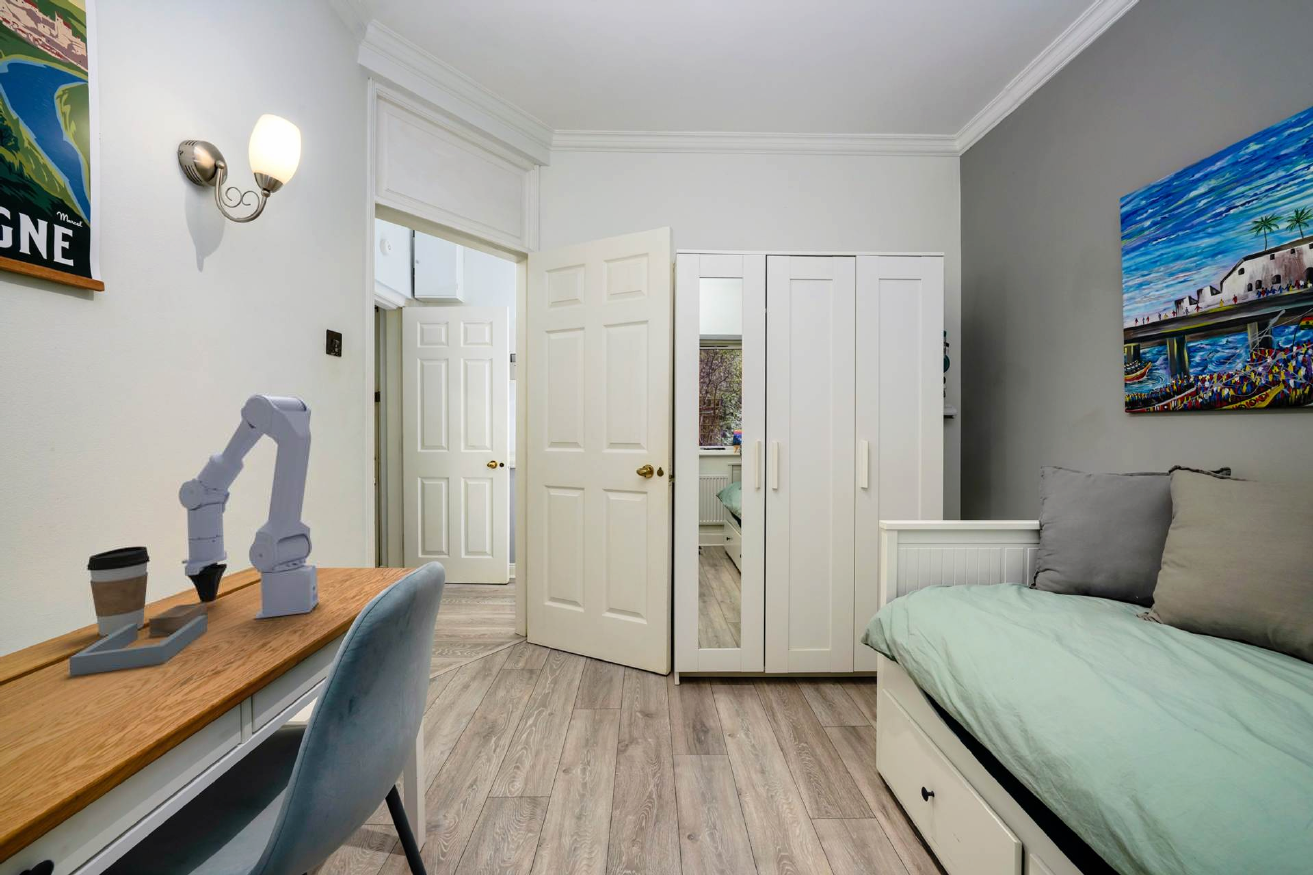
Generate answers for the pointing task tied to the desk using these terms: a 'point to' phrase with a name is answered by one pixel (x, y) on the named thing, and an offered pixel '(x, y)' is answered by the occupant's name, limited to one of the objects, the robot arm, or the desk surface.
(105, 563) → the coffee cup
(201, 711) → the desk surface
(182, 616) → the walnut block
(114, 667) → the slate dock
